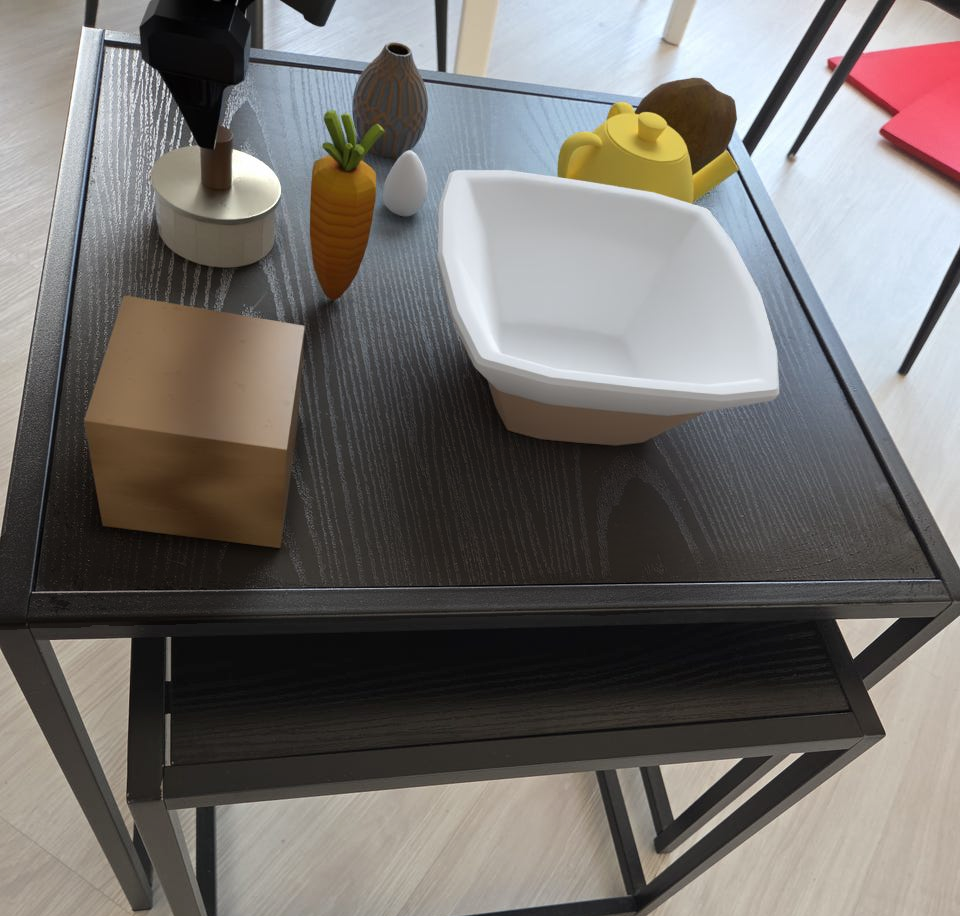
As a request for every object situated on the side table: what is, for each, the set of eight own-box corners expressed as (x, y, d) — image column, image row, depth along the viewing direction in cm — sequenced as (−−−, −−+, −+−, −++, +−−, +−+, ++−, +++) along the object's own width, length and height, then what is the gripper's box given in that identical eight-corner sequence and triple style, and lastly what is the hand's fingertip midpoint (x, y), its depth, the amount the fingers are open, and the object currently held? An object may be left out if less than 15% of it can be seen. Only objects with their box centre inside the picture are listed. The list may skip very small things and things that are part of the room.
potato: (735, 197, 98) (774, 113, 91) (632, 187, 95) (664, 100, 88) (709, 151, 103) (744, 67, 95) (609, 140, 99) (638, 53, 92)
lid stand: (102, 526, 59) (83, 420, 51) (136, 404, 65) (123, 294, 58) (280, 548, 61) (287, 450, 53) (297, 428, 67) (304, 325, 60)
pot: (148, 255, 74) (144, 208, 70) (168, 189, 79) (166, 142, 75) (267, 276, 75) (269, 232, 72) (280, 210, 80) (282, 165, 77)
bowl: (741, 510, 72) (809, 407, 63) (425, 487, 66) (453, 371, 58) (676, 309, 85) (725, 200, 76) (406, 276, 79) (426, 154, 71)
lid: (140, 211, 70) (135, 155, 67) (163, 140, 76) (159, 85, 72) (273, 235, 72) (275, 182, 68) (286, 165, 77) (289, 112, 74)
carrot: (372, 295, 77) (398, 111, 65) (348, 328, 74) (370, 143, 62) (316, 272, 77) (332, 84, 65) (290, 304, 74) (301, 114, 62)
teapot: (645, 306, 84) (696, 190, 75) (519, 233, 86) (552, 112, 77) (706, 242, 92) (758, 130, 83) (589, 177, 94) (627, 61, 85)
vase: (435, 153, 91) (452, 58, 83) (389, 175, 87) (402, 77, 80) (381, 118, 92) (393, 21, 85) (333, 138, 88) (342, 39, 81)
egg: (408, 229, 83) (418, 170, 78) (373, 209, 83) (381, 149, 79) (430, 212, 85) (441, 153, 81) (396, 193, 85) (405, 133, 81)
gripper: (334, -46, 53) (315, 208, 65) (355, -167, 63) (335, 73, 76) (126, -96, 51) (149, 176, 63) (183, -212, 61) (193, 42, 74)
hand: (216, 113), depth 69 cm, fingers open, 9 cm apart
